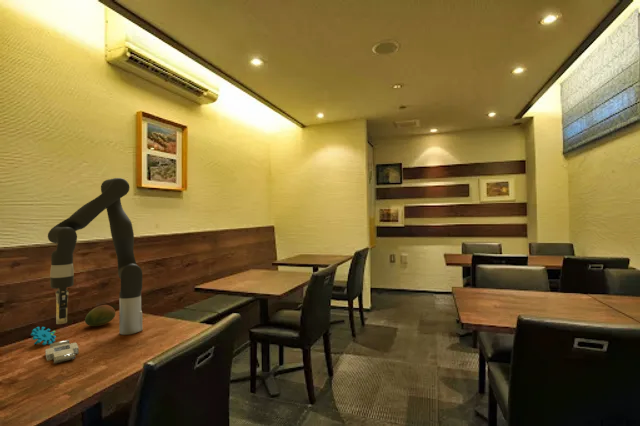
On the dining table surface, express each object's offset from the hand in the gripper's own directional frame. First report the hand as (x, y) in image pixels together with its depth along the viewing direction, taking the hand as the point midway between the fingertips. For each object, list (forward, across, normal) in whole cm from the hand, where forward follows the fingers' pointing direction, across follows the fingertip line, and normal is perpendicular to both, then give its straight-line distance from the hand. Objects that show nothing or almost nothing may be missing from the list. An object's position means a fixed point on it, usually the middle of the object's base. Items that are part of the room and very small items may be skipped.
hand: (62, 316), depth 132 cm
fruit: (+15, +32, -18) cm, 39 cm away
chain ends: (+15, 0, 0) cm, 15 cm away
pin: (+2, 0, 0) cm, 2 cm away
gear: (+16, +20, +4) cm, 26 cm away
